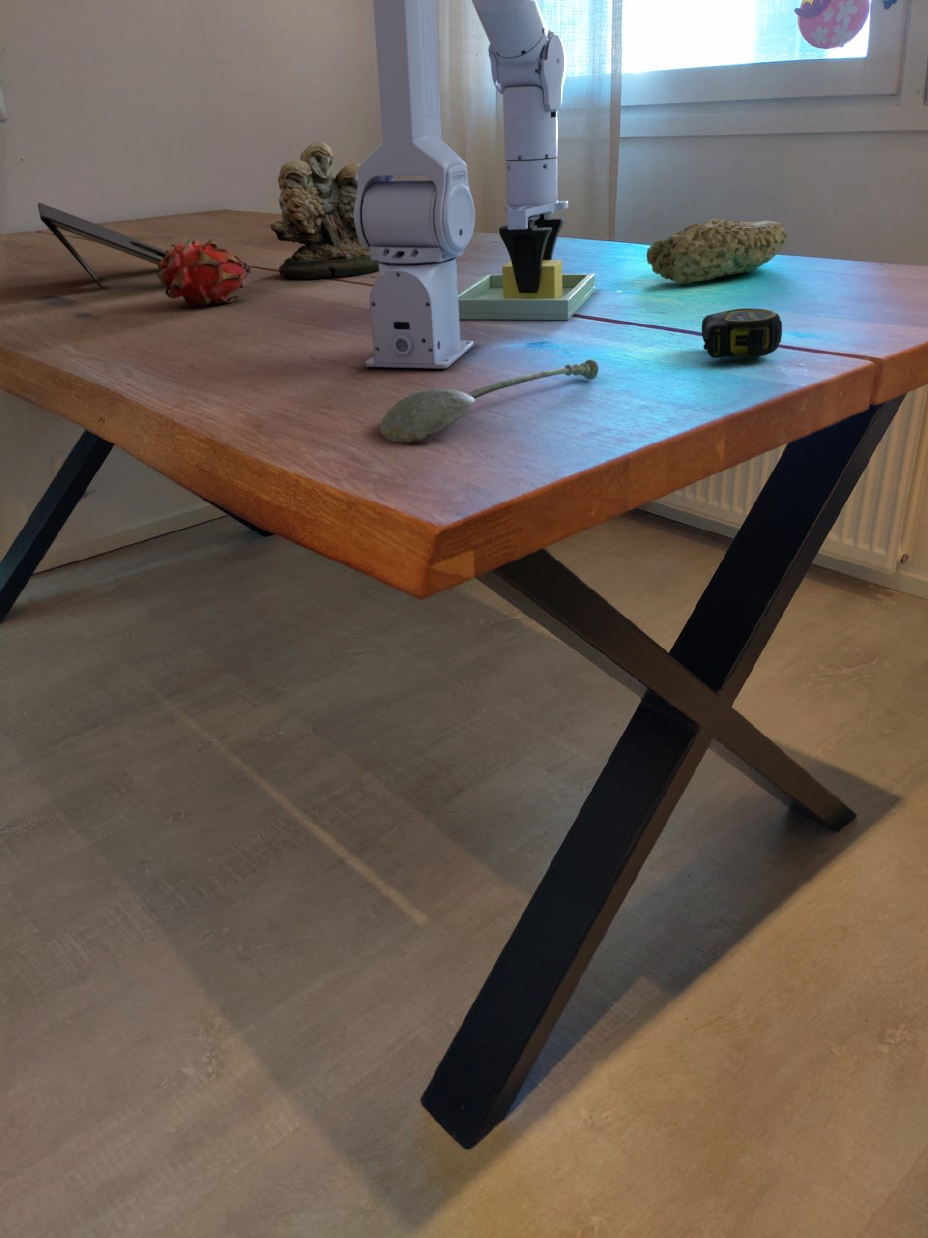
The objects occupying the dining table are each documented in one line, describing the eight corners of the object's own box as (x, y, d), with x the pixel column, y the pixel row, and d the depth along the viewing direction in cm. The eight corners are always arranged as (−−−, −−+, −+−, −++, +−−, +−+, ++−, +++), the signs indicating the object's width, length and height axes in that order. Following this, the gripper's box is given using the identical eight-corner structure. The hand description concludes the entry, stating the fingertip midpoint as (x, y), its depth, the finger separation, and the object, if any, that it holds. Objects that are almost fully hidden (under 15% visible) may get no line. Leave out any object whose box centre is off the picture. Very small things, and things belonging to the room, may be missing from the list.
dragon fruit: (156, 322, 126) (249, 323, 132) (168, 288, 119) (266, 290, 124) (145, 260, 128) (238, 264, 133) (156, 222, 120) (254, 227, 126)
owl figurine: (296, 284, 137) (279, 146, 130) (260, 275, 146) (242, 146, 138) (408, 267, 146) (398, 136, 138) (367, 259, 155) (356, 136, 147)
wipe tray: (568, 320, 108) (568, 299, 107) (447, 319, 112) (446, 299, 111) (594, 291, 122) (594, 273, 121) (486, 291, 126) (485, 273, 125)
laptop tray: (198, 328, 143) (218, 265, 141) (27, 268, 132) (44, 198, 130) (177, 303, 162) (194, 247, 160) (26, 249, 151) (41, 187, 149)
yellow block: (554, 303, 114) (554, 265, 112) (503, 303, 115) (502, 266, 113) (562, 295, 117) (562, 259, 115) (512, 295, 119) (511, 260, 117)
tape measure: (699, 348, 94) (701, 307, 92) (775, 347, 93) (779, 305, 91) (701, 366, 88) (704, 322, 86) (783, 365, 87) (787, 321, 85)
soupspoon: (363, 440, 76) (417, 463, 72) (358, 397, 74) (414, 417, 70) (565, 370, 88) (622, 386, 84) (565, 332, 86) (624, 346, 82)
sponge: (693, 301, 119) (827, 247, 124) (678, 234, 117) (815, 181, 121) (637, 305, 131) (761, 255, 136) (622, 244, 129) (749, 196, 133)
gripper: (553, 162, 102) (554, 300, 108) (579, 152, 114) (579, 277, 121) (486, 164, 104) (491, 300, 110) (519, 154, 116) (521, 277, 123)
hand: (533, 288), depth 116 cm, fingers closed on yellow block, 4 cm apart
